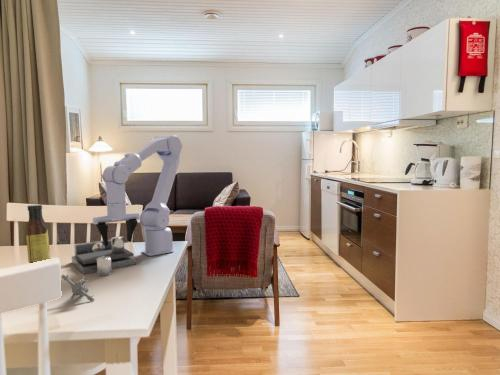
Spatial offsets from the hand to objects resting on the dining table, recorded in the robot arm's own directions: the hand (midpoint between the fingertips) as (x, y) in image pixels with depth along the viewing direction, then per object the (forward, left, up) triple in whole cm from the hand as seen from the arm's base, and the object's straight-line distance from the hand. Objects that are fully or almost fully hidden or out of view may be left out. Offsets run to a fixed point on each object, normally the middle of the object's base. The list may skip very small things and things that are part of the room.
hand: (117, 243), depth 118 cm
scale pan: (+4, -1, -4) cm, 6 cm away
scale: (+4, -3, -7) cm, 8 cm away
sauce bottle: (+21, -15, -7) cm, 27 cm away
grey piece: (+18, +25, -7) cm, 31 cm away
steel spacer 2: (0, 0, -3) cm, 3 cm away
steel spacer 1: (+7, +9, -7) cm, 13 cm away
